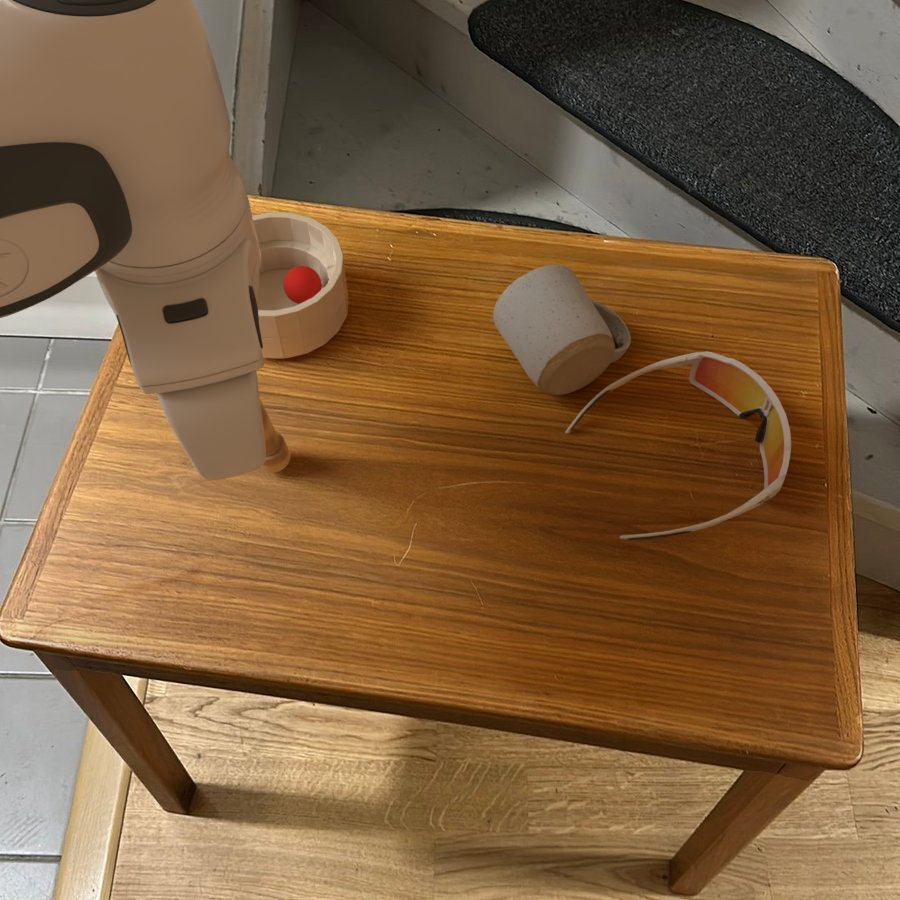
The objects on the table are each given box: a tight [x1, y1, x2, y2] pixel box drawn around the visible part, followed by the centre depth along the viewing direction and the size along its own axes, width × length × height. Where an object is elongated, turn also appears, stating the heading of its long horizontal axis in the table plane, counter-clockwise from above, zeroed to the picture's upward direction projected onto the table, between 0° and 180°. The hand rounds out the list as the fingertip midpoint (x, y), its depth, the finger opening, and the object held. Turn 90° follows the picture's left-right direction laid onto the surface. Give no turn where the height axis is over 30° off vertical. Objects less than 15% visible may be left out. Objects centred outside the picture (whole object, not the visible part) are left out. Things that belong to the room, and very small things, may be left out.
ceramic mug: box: [492, 264, 632, 396], centre depth 74 cm, size 11×8×8 cm
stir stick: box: [259, 399, 292, 474], centre depth 62 cm, size 3×3×20 cm
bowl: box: [252, 211, 350, 359], centre depth 77 cm, size 11×11×6 cm
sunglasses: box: [564, 351, 792, 541], centre depth 70 cm, size 14×15×5 cm
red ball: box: [283, 266, 322, 304], centre depth 78 cm, size 3×3×3 cm
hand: (225, 392), depth 62 cm, fingers closed on stir stick, 2 cm apart
